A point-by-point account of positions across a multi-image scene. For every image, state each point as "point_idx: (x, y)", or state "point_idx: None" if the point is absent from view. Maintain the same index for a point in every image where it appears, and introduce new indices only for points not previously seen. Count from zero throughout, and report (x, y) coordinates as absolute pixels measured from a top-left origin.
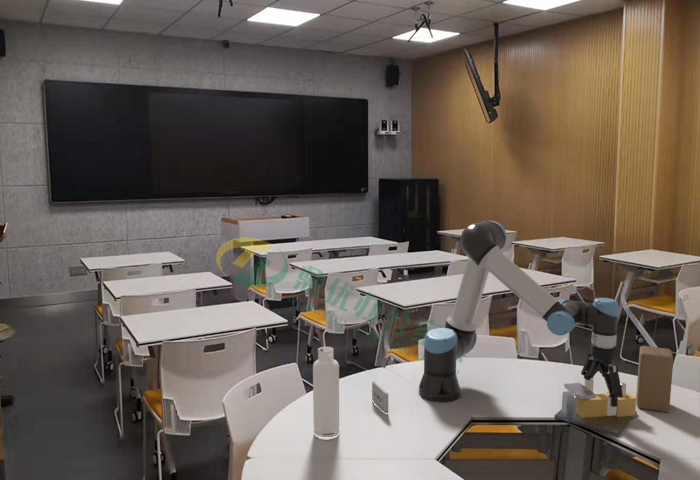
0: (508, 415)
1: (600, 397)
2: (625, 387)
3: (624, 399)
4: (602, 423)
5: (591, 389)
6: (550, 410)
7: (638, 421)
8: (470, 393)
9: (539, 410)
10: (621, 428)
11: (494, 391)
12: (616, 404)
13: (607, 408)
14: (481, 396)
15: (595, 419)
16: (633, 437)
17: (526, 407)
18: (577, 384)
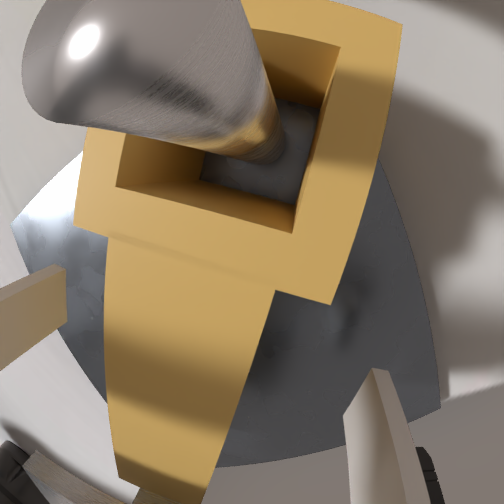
0: (130, 496)
1: (180, 418)
2: (244, 13)
3: (363, 205)
4: (331, 400)
5: (16, 307)
6: (106, 421)
7: (396, 118)
8: (23, 444)
9: (104, 441)
10: (432, 355)
11: (4, 406)
12: (429, 470)
13: (347, 453)
14: (33, 445)
15: (272, 397)
16: (486, 334)
17: (83, 444)
18: (53, 496)
